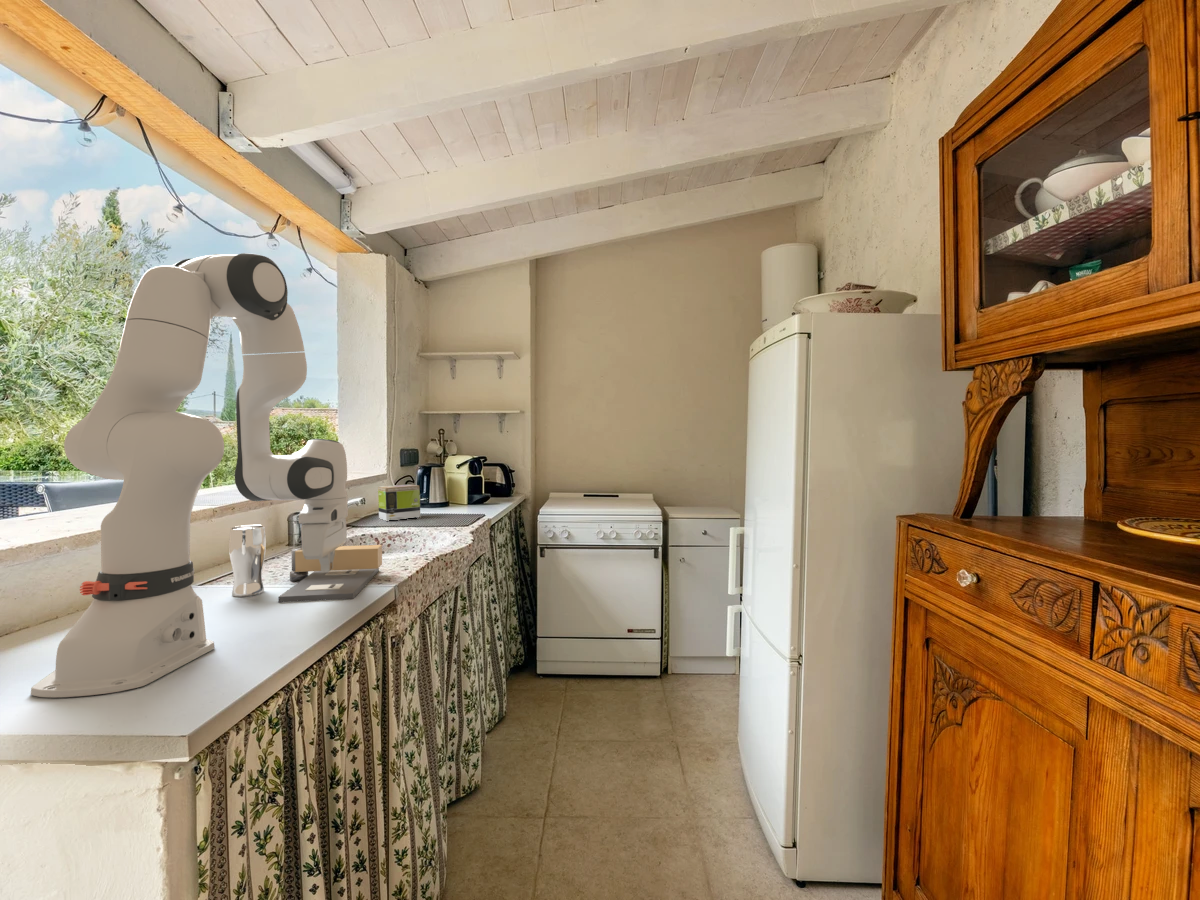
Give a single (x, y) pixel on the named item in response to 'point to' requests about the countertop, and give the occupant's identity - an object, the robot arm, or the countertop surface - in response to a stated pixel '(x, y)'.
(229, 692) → the countertop surface
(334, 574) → the label panel
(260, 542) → the beer glass
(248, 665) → the countertop surface
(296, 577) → the pivot post
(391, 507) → the tea box
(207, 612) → the countertop surface
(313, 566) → the swing arm
